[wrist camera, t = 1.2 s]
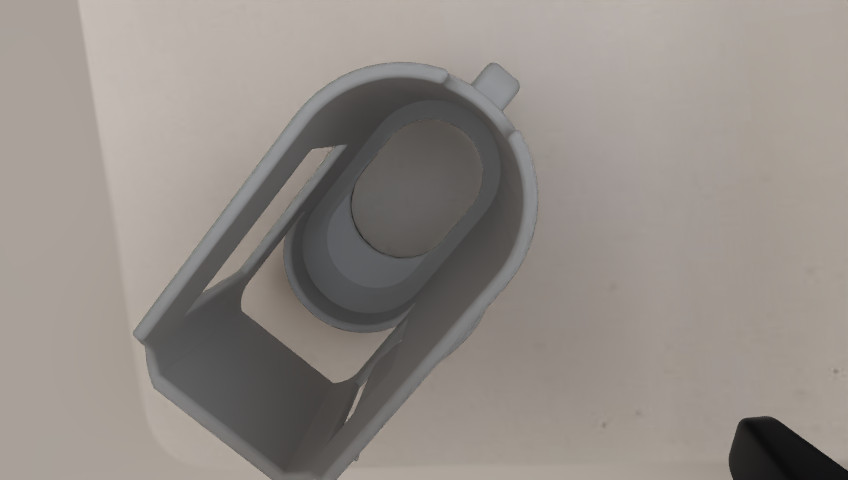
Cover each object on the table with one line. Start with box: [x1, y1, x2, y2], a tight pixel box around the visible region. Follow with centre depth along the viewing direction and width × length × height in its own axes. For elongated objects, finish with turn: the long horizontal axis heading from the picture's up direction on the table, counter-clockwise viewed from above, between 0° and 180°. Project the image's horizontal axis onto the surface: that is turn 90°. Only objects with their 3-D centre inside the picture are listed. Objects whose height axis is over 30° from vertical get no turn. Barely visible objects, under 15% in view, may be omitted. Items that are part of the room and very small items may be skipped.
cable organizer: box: [133, 62, 538, 480], centre depth 20 cm, size 7×12×12 cm, turn 141°
